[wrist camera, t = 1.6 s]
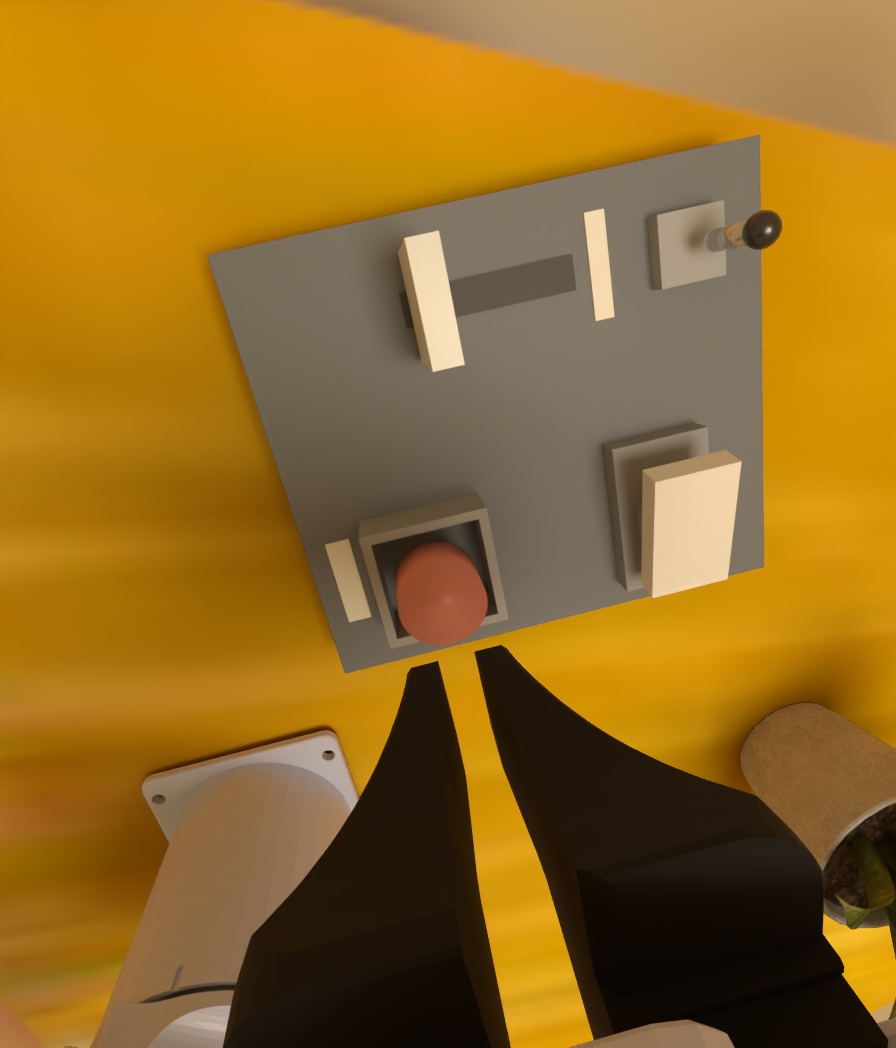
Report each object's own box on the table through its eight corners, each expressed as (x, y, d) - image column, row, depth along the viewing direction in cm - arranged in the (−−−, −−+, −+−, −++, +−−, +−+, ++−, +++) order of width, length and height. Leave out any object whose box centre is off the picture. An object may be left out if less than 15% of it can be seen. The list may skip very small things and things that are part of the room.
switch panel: (732, 546, 23) (793, 585, 20) (347, 643, 23) (343, 701, 19) (719, 153, 18) (798, 116, 15) (224, 261, 18) (189, 248, 14)
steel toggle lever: (717, 257, 16) (790, 243, 15) (694, 262, 16) (766, 248, 14) (716, 222, 16) (790, 203, 14) (693, 227, 16) (766, 208, 14)
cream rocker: (714, 565, 20) (727, 579, 19) (641, 583, 19) (652, 598, 19) (725, 449, 17) (741, 461, 16) (642, 470, 17) (655, 482, 16)
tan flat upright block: (447, 356, 17) (464, 364, 14) (421, 362, 17) (432, 372, 14) (425, 247, 16) (438, 230, 13) (397, 253, 16) (404, 238, 13)
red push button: (483, 604, 19) (494, 633, 17) (406, 624, 19) (409, 654, 17) (468, 532, 18) (478, 555, 16) (386, 552, 18) (388, 577, 16)
